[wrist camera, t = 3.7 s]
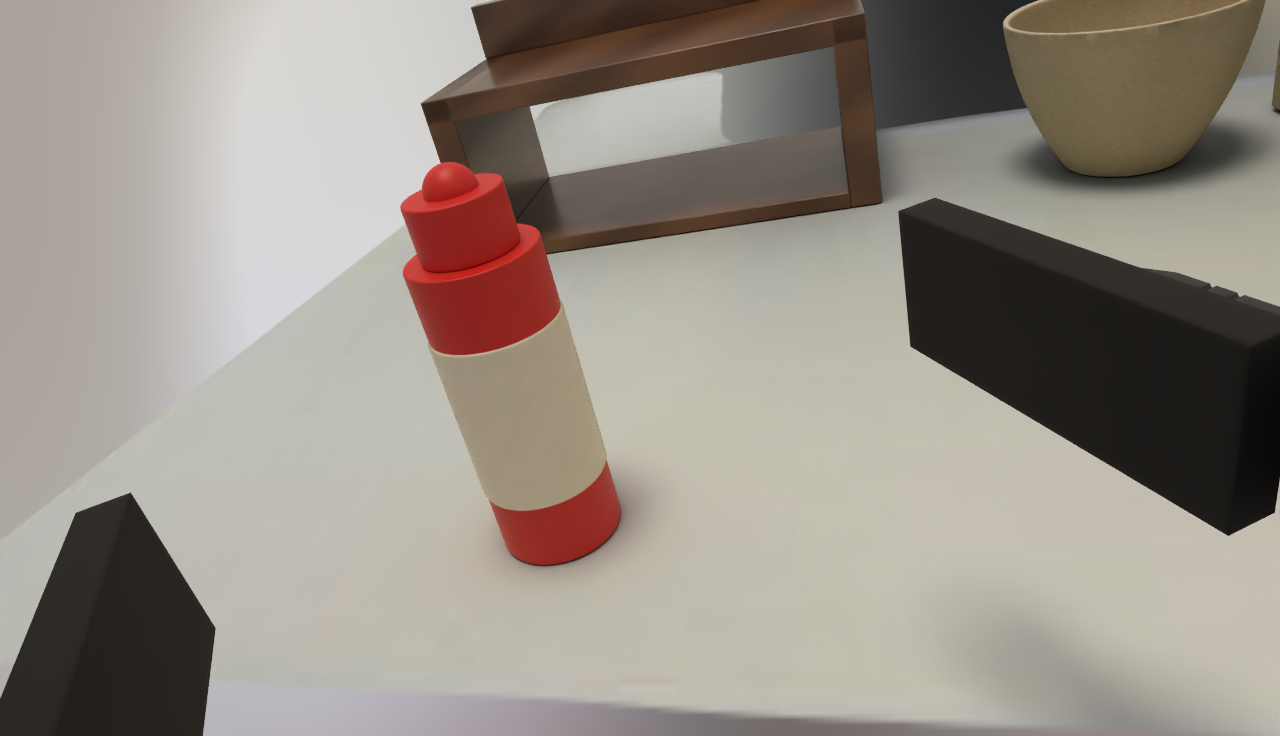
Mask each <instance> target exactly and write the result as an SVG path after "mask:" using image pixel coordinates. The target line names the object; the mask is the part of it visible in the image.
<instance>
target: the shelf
mask: <svg viewBox="0 0 1280 736" xmlns="http://www.w3.org/2000/svg"><path fill="white" fill-rule="evenodd" d="M471 9H472V12H473V16H474V19H475V23H476V26H477V30H478V33H479V36H480V40H481V43H482V47H483V50H484V53H485V57H486V58H487V59H486V60H484V61H483V62H481V63H480V64H478V65H477V66H476V67H474V68H473V69H471V70H470V71H468V72H467V73H465V74H464V75H462V76H461V77H459V78H458V79H456V80H455V81H453V82H452V83H450V84H449V85H447V86H446V87H444V88H443V89H441V90H440V91H438V92H437V93H436V94H434V95H433V96H431V97H430V98H428V99H427V100H425V101H424V102H422V103H421V106H422V109H423V112H424V115H425V118H426V121H427V124H428V126H429V130H430V133H431V136H432V138H433V142H434V144H435V147H436V150H437V153H438V156H439V159H440V162H441V163H445V162H455V163H459V164H462V165H464V166H465V167H467V168H468V169H470V170H471V171H472V172H473V173H474V174H479V173H493V174H498V175H500V176H501V177H502V178H503V180H504V184H505V187H506V190H507V193H508V197H509V200H510V203H511V207H512V210H513V213H514V216H515V220H516V223H517V224H525V225H530V226H533V227H535V228H536V229H537V230H538V231H539V232H540V235H541V238H542V241H543V245H544V248H545V252H546V253H552V252H559V251H565V250H572V249H579V248H585V247H592V246H598V245H605V244H612V243H618V242H625V241H631V240H638V239H645V238H651V237H658V236H664V235H671V234H678V233H684V232H691V231H697V230H704V229H711V228H717V227H724V226H730V225H737V224H744V223H750V222H757V221H763V220H770V219H777V218H783V217H790V216H796V215H803V214H810V213H816V212H823V211H829V210H836V209H843V208H849V207H851V206H852V207H856V206H862V205H869V204H876V203H881V202H882V192H881V182H880V171H879V160H878V150H877V139H876V129H875V119H874V108H873V98H872V86H871V76H870V65H869V54H868V43H867V33H866V22H865V13H864V10H863V7H862V4H861V1H860V0H494V1H490V2H486V3H481V4H477V5H475V6H473V7H471ZM832 46H833V54H834V62H835V71H836V80H837V89H838V98H839V107H840V116H841V125H842V127H835V128H829V129H824V130H818V131H812V132H806V133H800V134H795V135H789V136H783V137H778V138H772V139H766V140H761V141H755V142H749V143H743V144H737V145H731V146H726V147H720V148H714V149H709V150H703V151H697V152H691V153H686V154H680V155H674V156H668V157H663V158H657V159H651V160H645V161H640V162H634V163H628V164H622V165H617V166H611V167H605V168H600V169H594V170H588V171H582V172H577V173H571V174H565V175H559V176H554V177H550V178H549V175H548V172H547V168H546V164H545V161H544V157H543V154H542V150H541V146H540V143H539V139H538V136H537V132H536V129H535V125H534V121H533V118H532V114H531V111H530V107H529V106H532V105H538V104H543V103H548V102H553V101H558V100H563V99H568V98H574V97H579V96H584V95H589V94H594V93H599V92H604V91H609V90H614V89H619V88H624V87H629V86H634V85H640V84H645V83H650V82H655V81H660V80H665V79H670V78H675V77H680V76H685V75H690V74H695V73H700V72H705V71H711V70H715V69H721V68H726V67H730V66H736V65H741V64H746V63H751V62H756V61H761V60H766V59H771V58H776V57H782V56H787V55H792V54H797V53H802V52H807V51H812V50H817V49H822V48H827V47H832Z"/></svg>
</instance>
